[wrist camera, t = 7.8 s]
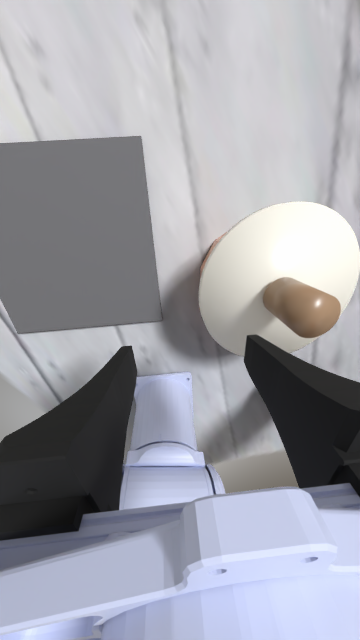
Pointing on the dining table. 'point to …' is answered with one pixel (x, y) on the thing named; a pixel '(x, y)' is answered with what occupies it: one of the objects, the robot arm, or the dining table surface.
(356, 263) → the lid
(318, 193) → the dining table surface
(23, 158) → the mat
